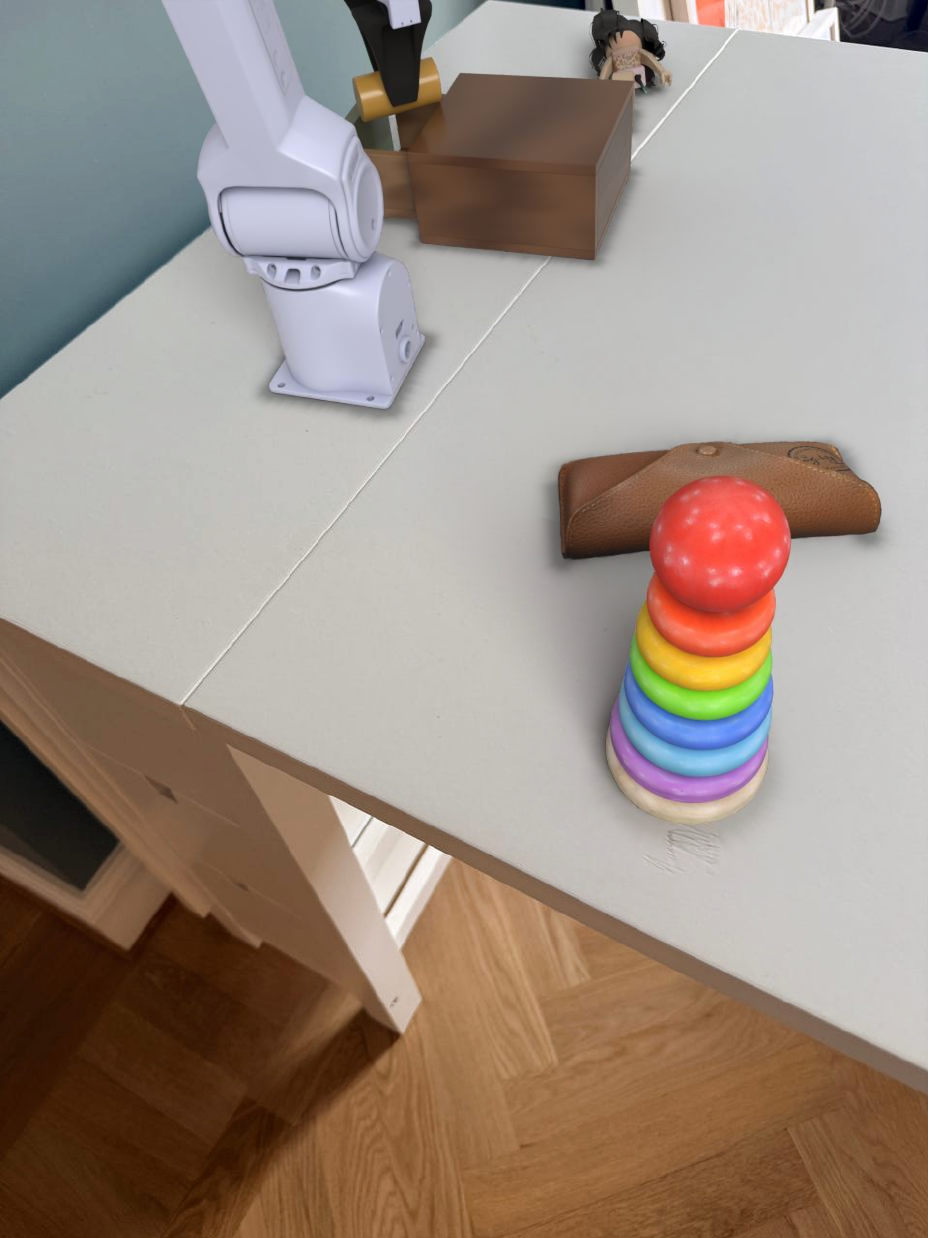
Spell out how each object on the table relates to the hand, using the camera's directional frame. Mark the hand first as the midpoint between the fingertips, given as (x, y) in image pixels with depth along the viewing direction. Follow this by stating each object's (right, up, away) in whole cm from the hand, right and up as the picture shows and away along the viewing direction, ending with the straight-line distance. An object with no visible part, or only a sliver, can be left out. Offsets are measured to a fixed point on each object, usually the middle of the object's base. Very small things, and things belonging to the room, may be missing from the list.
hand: (397, 91), depth 74 cm
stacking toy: (+16, -49, -26) cm, 58 cm away
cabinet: (+11, -7, +5) cm, 14 cm away
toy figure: (+21, +8, +14) cm, 26 cm away
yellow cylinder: (0, -1, +1) cm, 1 cm away
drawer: (0, -5, +7) cm, 8 cm away
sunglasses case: (+20, -35, -16) cm, 43 cm away
